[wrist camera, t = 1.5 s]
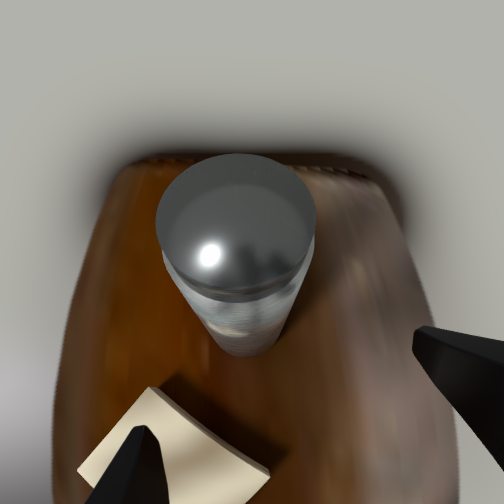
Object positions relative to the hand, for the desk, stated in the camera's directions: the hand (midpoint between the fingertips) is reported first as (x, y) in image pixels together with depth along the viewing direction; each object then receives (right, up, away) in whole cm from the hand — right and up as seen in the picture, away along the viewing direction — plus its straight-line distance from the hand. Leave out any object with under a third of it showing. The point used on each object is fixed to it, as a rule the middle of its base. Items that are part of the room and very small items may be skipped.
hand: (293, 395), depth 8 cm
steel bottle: (-2, -1, +13) cm, 13 cm away
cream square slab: (-7, -12, +8) cm, 16 cm away
